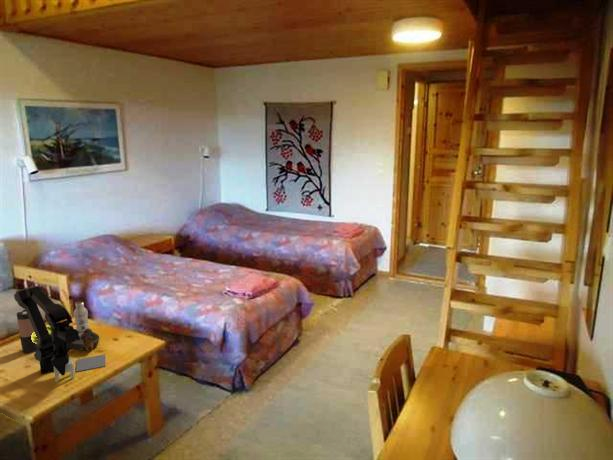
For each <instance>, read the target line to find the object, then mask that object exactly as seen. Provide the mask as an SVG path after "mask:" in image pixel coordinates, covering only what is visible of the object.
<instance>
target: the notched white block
mask: <svg viewBox="0 0 613 460" xmlns="http://www.w3.org/2000/svg"><path fill="white" fill-rule="evenodd" d="M74 365H75V364H74V359H73V358H69V363H68V364H66V367H65V374H67V373H70V378H71V380H74V379H75V374H76V373H75V372H76V371H75V366H74ZM53 373H54V380H55V383H58V382H59V378H60V375H61V374H60V373H59V371H58V370H57V369H56V368H55V367H54V371H53Z"/></svg>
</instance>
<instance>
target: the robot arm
mask: <svg viewBox="0 0 613 460" xmlns="http://www.w3.org/2000/svg"><path fill="white" fill-rule="evenodd" d="M13 298H14V300H15V302H16V303H17V305H18V306H19V307H20V308H23V310H26V312H27V315H28V317H29V319H30V322H31V324H32V327H33V329H34V331H35V334H36V336H37V339H38V340H37V345H36V348H37V351H36V352H34V354H33V355H34V359H35V360H36V361H39V365H40V366H39V368H40V373H39V374H41V375H43V374H47V373H54V367H55V368H56V369H57V370H58V371H59V373H60V374H59V375H61V376H65V375H66V373H65V367H66V364H68V363H69V359H70V354H69V352H70V350H71V351H77V352H81V351H82V350H83V349H82V346H83V340H82V339H81V338H80V336H79V332H78V331H77V330H76V328H74V326H73V325H71V324H73V318H72V316H71V314H70V313H69V311H68V309H67V308H66V307H64V306H63V305H61V304H60V303H56V302H54V301H53V300H52V299H51V298H50V297H49V296H48V295H47V294H46V293H45V292H44V291H43V290H42V287H41V286H40V285H35V286H29V287H26V288H22V289H17V290H16V291H15V293H14V294H13ZM39 308H40V309H41V310H42V311H43V312H44V318H45V320H46V322H47V324H48V326H49V327H50V332H49V330H48V328H47V325H46V322H45V321H44V318H43V315H42V313H41V311H40V309H39ZM50 333H51V334H50Z"/></svg>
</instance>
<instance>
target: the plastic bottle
mask: <svg viewBox="0 0 613 460" xmlns="http://www.w3.org/2000/svg"><path fill="white" fill-rule="evenodd" d="M74 304H75V305H74V306H75V309H74V311H73V312H72V313H73V314H72V315H73V318H74V323H75V329H76V330H77V331H78V332H79V336H81V335H82V334H84V330H85V329H87V328H89V322H88V320H89V319H88V317H89V316H88V314H89V311H88V309H87V308H86V307H85V304H84V301H76V302H75V303H74Z"/></svg>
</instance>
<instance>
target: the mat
mask: <svg viewBox="0 0 613 460" xmlns="http://www.w3.org/2000/svg"><path fill="white" fill-rule="evenodd" d="M105 367H107V366H106V354H105V353H103V354H98V355H93V356H88V357H82V358H78V359H76V366H75V372H76V373H80V372H85V371H89V370H90V371H91V370H93V369H94V370H95V369H98V368H99V369H100V368H105Z"/></svg>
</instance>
